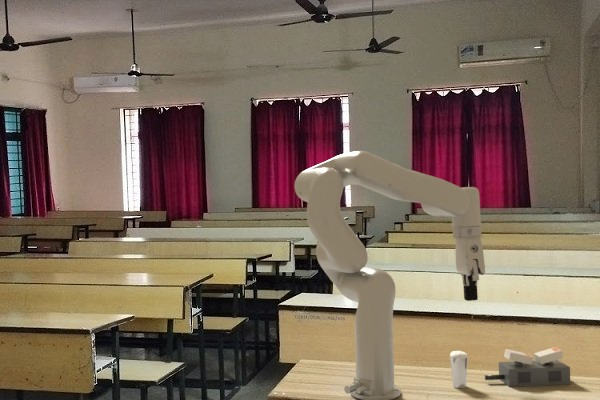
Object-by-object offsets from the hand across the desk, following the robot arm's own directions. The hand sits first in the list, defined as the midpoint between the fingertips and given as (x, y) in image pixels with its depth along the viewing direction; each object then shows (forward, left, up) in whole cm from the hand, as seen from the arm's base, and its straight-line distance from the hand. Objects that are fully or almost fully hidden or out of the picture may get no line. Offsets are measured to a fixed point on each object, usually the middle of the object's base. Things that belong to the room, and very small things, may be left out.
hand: (471, 299), depth 163 cm
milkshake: (-9, -2, -21) cm, 23 cm away
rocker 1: (+4, -11, -14) cm, 19 cm away
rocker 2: (+10, -17, -14) cm, 24 cm away
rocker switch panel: (+5, -12, -21) cm, 25 cm away
